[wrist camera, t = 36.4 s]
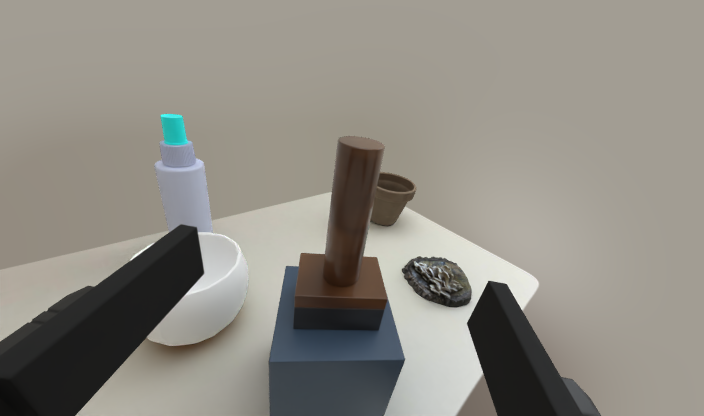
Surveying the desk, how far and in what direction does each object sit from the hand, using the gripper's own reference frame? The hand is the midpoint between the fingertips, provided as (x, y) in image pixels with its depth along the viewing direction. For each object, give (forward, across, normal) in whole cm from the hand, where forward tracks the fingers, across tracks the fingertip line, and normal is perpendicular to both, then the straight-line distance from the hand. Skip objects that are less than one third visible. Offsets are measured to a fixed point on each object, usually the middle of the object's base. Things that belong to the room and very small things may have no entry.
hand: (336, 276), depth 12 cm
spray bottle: (+24, -26, -22) cm, 42 cm away
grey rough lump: (+28, +16, -22) cm, 39 cm away
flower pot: (+46, +6, -22) cm, 52 cm away
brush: (+7, 0, -10) cm, 13 cm away
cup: (+12, -17, -22) cm, 31 cm away
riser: (+8, 0, -22) cm, 23 cm away
